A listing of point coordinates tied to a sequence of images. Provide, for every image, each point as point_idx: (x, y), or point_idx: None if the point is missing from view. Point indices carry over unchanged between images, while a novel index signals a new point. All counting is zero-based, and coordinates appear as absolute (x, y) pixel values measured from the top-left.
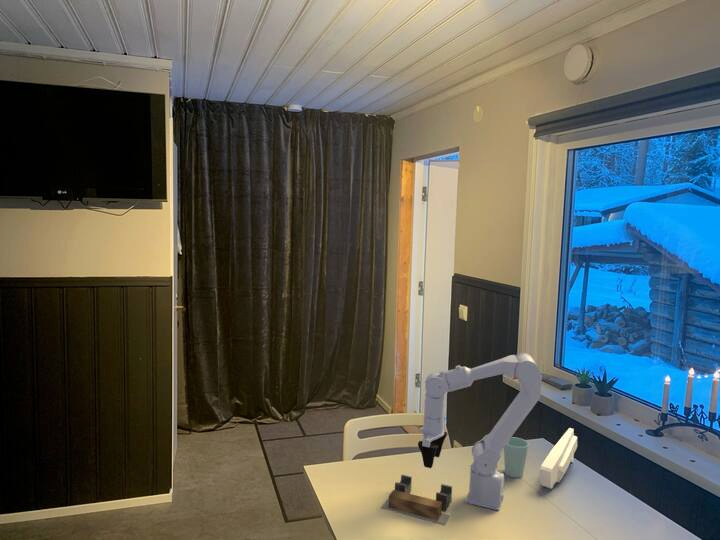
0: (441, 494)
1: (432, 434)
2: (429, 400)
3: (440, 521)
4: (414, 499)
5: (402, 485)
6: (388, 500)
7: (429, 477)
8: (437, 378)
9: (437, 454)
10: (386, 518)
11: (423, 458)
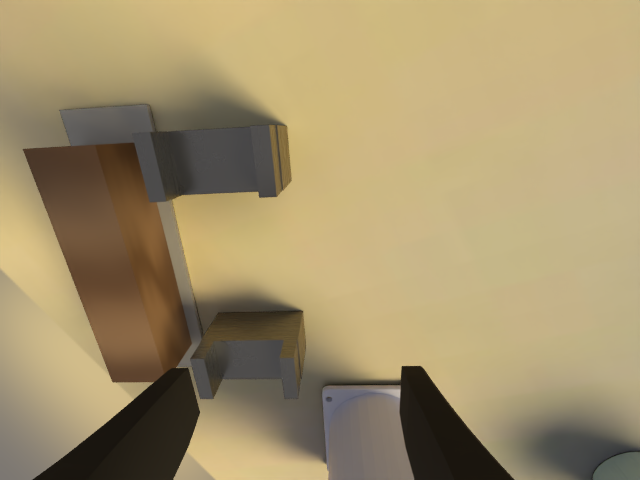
0: (196, 379)
1: None
2: None
3: None
4: (96, 281)
5: (145, 185)
6: (135, 116)
7: (477, 210)
8: None
9: (406, 427)
10: (21, 171)
11: (99, 437)
